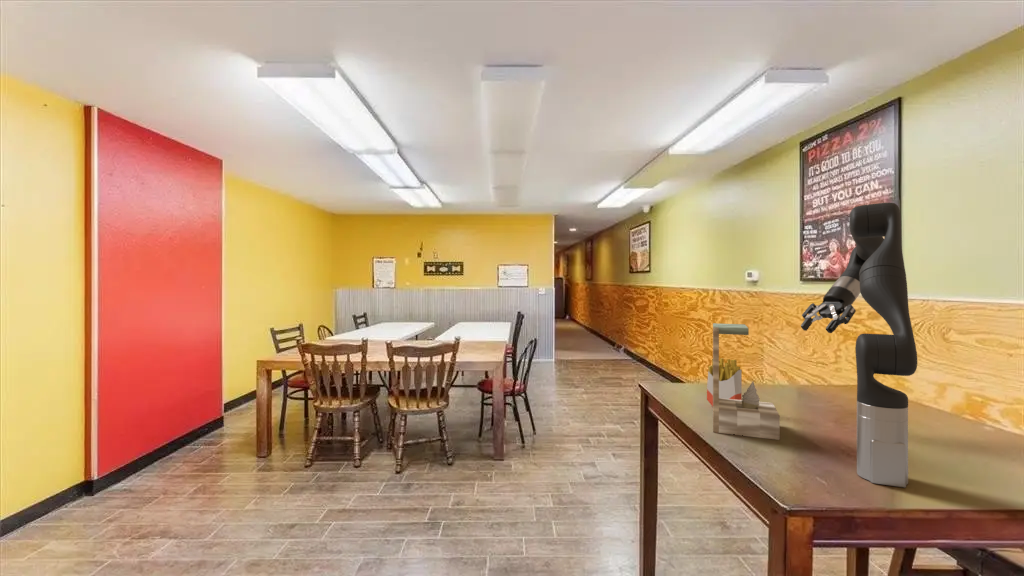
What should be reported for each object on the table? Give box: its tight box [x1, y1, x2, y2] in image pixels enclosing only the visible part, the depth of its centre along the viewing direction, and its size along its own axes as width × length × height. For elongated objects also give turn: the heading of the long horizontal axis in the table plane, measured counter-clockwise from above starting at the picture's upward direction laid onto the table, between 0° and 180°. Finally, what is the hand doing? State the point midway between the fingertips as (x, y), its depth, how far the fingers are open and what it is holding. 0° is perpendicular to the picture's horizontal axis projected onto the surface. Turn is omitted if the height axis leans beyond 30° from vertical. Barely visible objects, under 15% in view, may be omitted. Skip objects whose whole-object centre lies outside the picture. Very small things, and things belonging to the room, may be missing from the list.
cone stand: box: [712, 323, 781, 441], centre depth 143 cm, size 16×18×32 cm
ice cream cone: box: [742, 381, 760, 409], centre depth 143 cm, size 5×5×15 cm
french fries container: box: [706, 357, 743, 407], centre depth 166 cm, size 5×11×18 cm, turn 34°
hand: (815, 330), depth 144 cm, fingers open, 8 cm apart
